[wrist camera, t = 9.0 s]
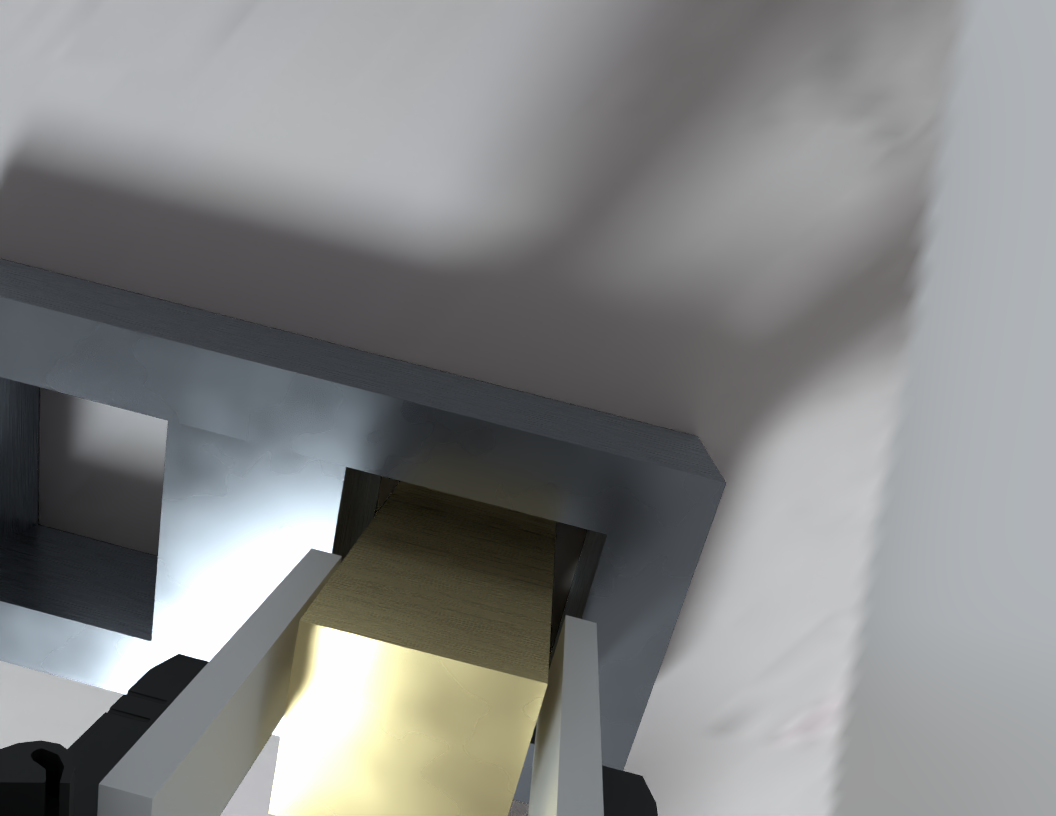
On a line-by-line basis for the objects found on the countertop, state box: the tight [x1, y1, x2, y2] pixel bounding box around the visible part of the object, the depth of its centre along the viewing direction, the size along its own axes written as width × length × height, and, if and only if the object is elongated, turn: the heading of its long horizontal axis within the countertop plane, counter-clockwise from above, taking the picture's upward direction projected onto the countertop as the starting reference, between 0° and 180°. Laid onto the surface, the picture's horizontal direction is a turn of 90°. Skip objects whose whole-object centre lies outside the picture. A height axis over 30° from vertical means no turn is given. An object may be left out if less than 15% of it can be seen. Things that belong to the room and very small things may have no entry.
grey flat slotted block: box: [0, 259, 726, 804], centre depth 17 cm, size 22×10×4 cm, turn 76°
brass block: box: [269, 481, 556, 816], centre depth 15 cm, size 4×4×8 cm
